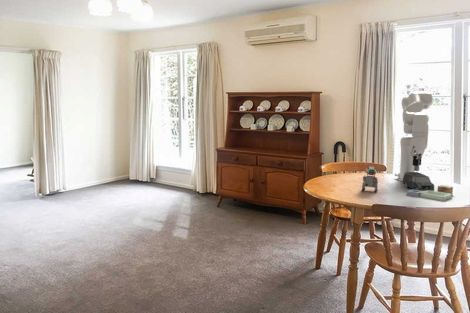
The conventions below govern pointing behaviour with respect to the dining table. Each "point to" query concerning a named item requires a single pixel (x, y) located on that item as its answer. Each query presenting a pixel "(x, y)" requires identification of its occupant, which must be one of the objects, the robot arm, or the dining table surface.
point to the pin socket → (413, 193)
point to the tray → (435, 195)
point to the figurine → (370, 179)
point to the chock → (445, 189)
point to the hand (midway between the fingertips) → (416, 165)
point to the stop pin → (416, 168)
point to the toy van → (417, 181)
